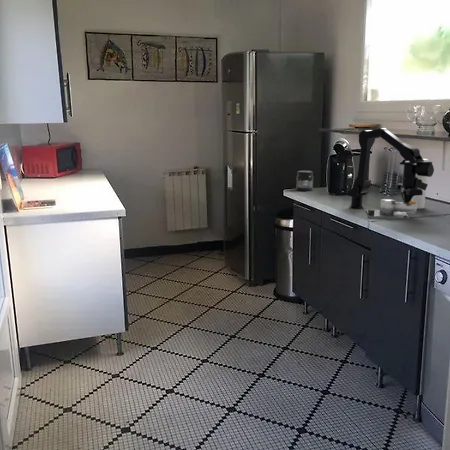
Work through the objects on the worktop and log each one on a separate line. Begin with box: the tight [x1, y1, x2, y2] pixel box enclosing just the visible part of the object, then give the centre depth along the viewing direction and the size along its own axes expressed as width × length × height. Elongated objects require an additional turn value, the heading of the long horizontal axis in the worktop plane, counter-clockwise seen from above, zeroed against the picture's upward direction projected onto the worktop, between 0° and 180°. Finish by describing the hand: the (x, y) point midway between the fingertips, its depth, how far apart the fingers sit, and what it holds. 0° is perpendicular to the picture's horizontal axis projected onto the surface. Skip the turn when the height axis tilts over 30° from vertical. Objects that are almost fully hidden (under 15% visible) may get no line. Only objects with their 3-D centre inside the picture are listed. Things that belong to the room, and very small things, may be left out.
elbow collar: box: [379, 198, 418, 215], centre depth 232 cm, size 16×7×6 cm, turn 63°
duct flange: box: [365, 208, 410, 220], centre depth 234 cm, size 16×18×3 cm
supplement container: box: [295, 170, 314, 192], centre depth 308 cm, size 10×10×12 cm
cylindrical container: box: [411, 158, 430, 210], centre depth 252 cm, size 7×7×25 cm
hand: (406, 207), depth 233 cm, fingers closed
